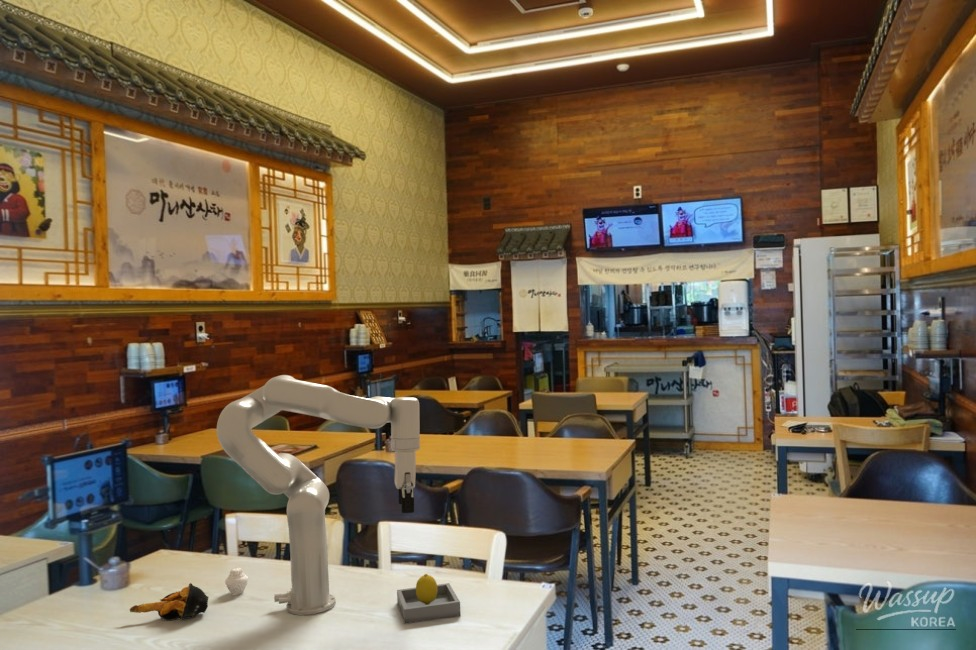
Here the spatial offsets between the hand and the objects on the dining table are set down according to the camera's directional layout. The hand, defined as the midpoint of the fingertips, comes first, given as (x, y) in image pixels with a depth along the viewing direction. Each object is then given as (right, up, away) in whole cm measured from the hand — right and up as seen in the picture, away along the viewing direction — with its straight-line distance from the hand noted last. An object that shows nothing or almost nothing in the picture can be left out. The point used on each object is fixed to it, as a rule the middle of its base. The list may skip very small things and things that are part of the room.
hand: (406, 508), depth 196 cm
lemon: (+6, -23, -7) cm, 25 cm away
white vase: (-49, -27, +10) cm, 56 cm away
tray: (+6, -24, -8) cm, 26 cm away
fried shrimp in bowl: (-60, -27, -6) cm, 66 cm away
